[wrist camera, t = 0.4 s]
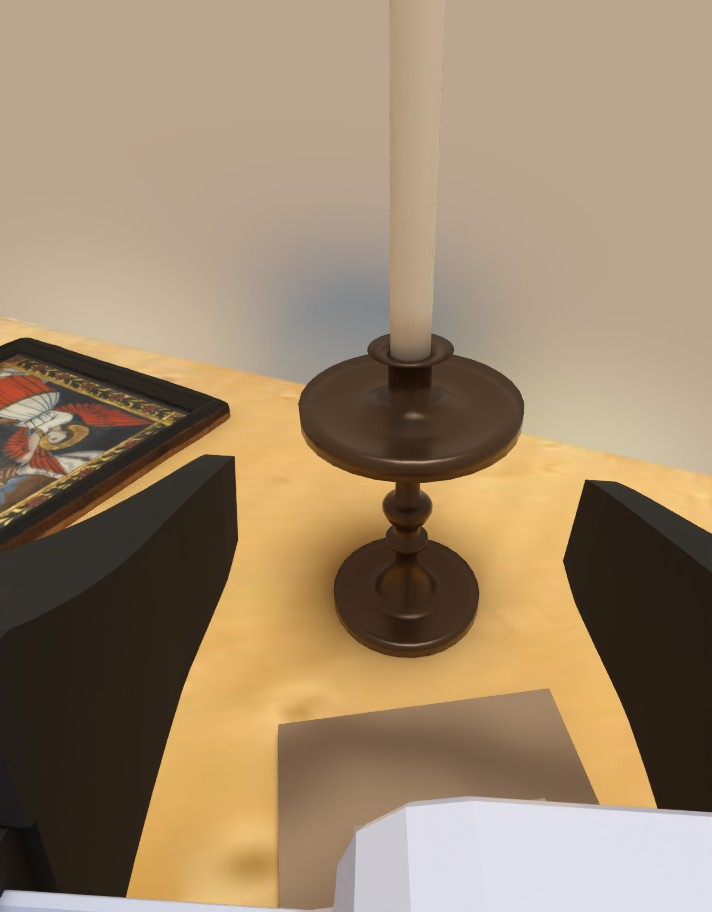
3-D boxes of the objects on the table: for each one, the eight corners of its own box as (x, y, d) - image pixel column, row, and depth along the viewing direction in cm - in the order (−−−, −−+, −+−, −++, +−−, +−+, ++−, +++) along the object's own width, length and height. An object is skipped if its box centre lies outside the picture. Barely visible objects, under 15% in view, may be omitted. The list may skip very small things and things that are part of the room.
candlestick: (472, 532, 40) (552, -191, 20) (513, 665, 31) (732, -389, 11) (321, 540, 40) (248, -178, 20) (319, 677, 31) (185, -368, 11)
